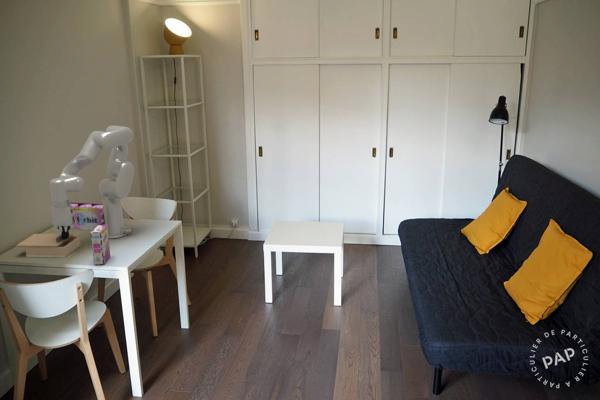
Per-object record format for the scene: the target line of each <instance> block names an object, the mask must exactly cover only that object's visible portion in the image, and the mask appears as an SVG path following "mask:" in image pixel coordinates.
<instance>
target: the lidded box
mask: <svg viewBox="0 0 600 400" xmlns="http://www.w3.org/2000/svg"><path fill="white" fill-rule="evenodd" d="M81 246H82V242H81V237H80V235H73V236H72V237H71V238H69V239H68V240H66V241H65V242H64V243H62V244H61V245H60V246H58V247H24V250H25V256H26V257H27V258H28V257H29V258H33V257H35V258H40V257H42V258H66V257H68V256H70V254H71V253H73V252H74V251H76V250H77V249H78V248H79V247H81Z"/></svg>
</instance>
